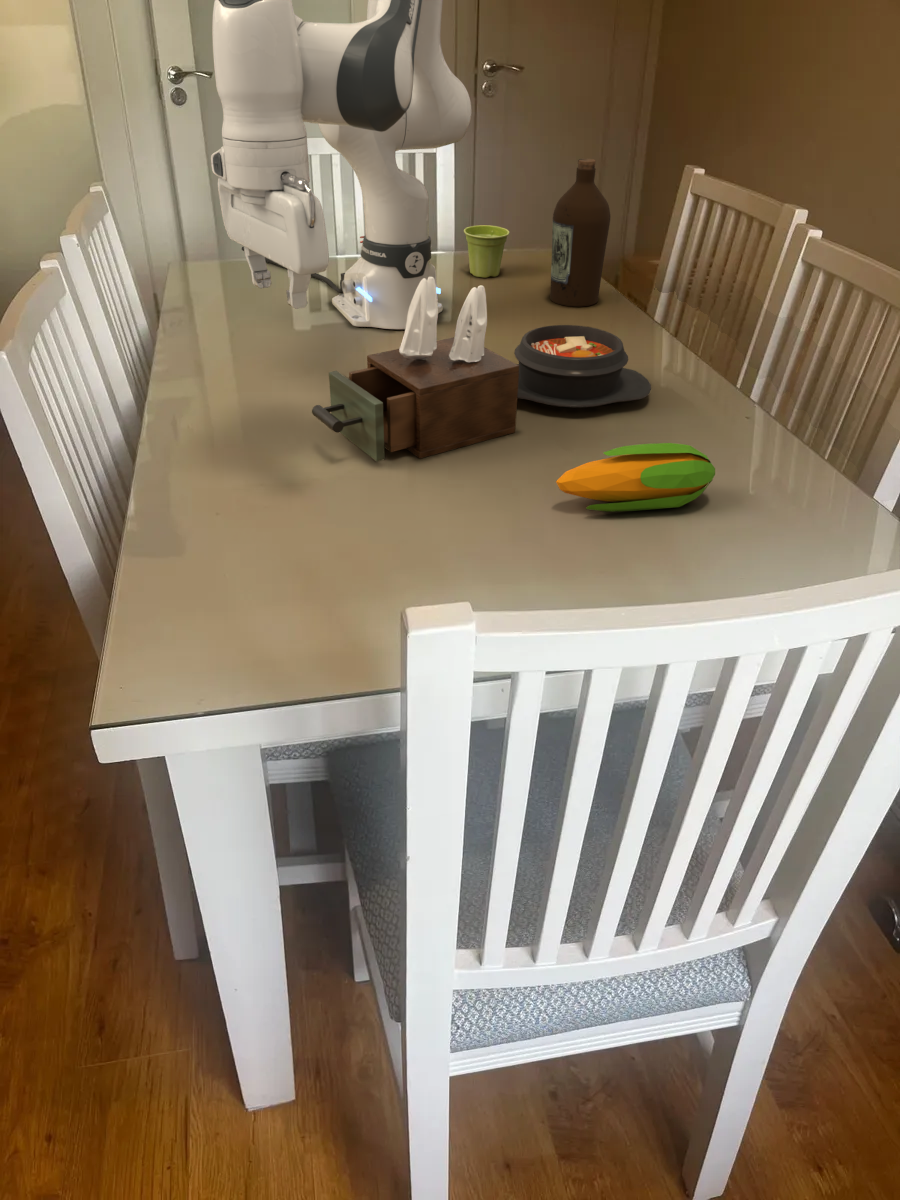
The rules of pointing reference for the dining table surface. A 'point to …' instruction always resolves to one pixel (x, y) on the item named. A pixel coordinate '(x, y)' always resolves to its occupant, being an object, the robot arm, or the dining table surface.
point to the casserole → (576, 368)
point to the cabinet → (455, 396)
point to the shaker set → (424, 325)
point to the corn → (641, 477)
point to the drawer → (370, 411)
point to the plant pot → (485, 249)
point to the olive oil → (579, 240)
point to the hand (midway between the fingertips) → (279, 296)
